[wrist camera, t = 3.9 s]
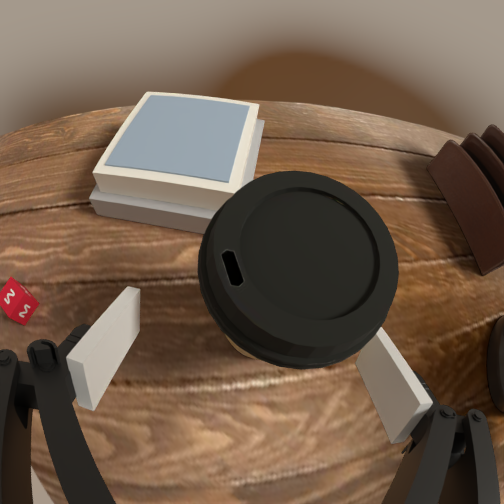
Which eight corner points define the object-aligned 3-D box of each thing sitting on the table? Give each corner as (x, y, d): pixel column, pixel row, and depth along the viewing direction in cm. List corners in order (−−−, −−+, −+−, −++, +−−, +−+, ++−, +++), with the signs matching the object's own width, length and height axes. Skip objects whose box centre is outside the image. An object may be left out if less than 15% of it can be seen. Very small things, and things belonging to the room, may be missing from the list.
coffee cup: (327, 357, 25) (438, 312, 11) (224, 393, 22) (240, 403, 9) (290, 263, 28) (351, 153, 15) (191, 289, 26) (174, 178, 13)
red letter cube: (25, 325, 22) (9, 317, 19) (11, 308, 22) (-5, 299, 19) (39, 303, 23) (24, 293, 20) (25, 287, 23) (10, 276, 21)
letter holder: (455, 169, 42) (496, 118, 30) (506, 264, 34) (562, 222, 21) (424, 168, 40) (468, 107, 27) (481, 277, 32) (548, 229, 19)
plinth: (261, 137, 36) (268, 100, 31) (241, 241, 29) (248, 204, 23) (147, 122, 36) (142, 86, 30) (97, 214, 28) (78, 178, 23)
